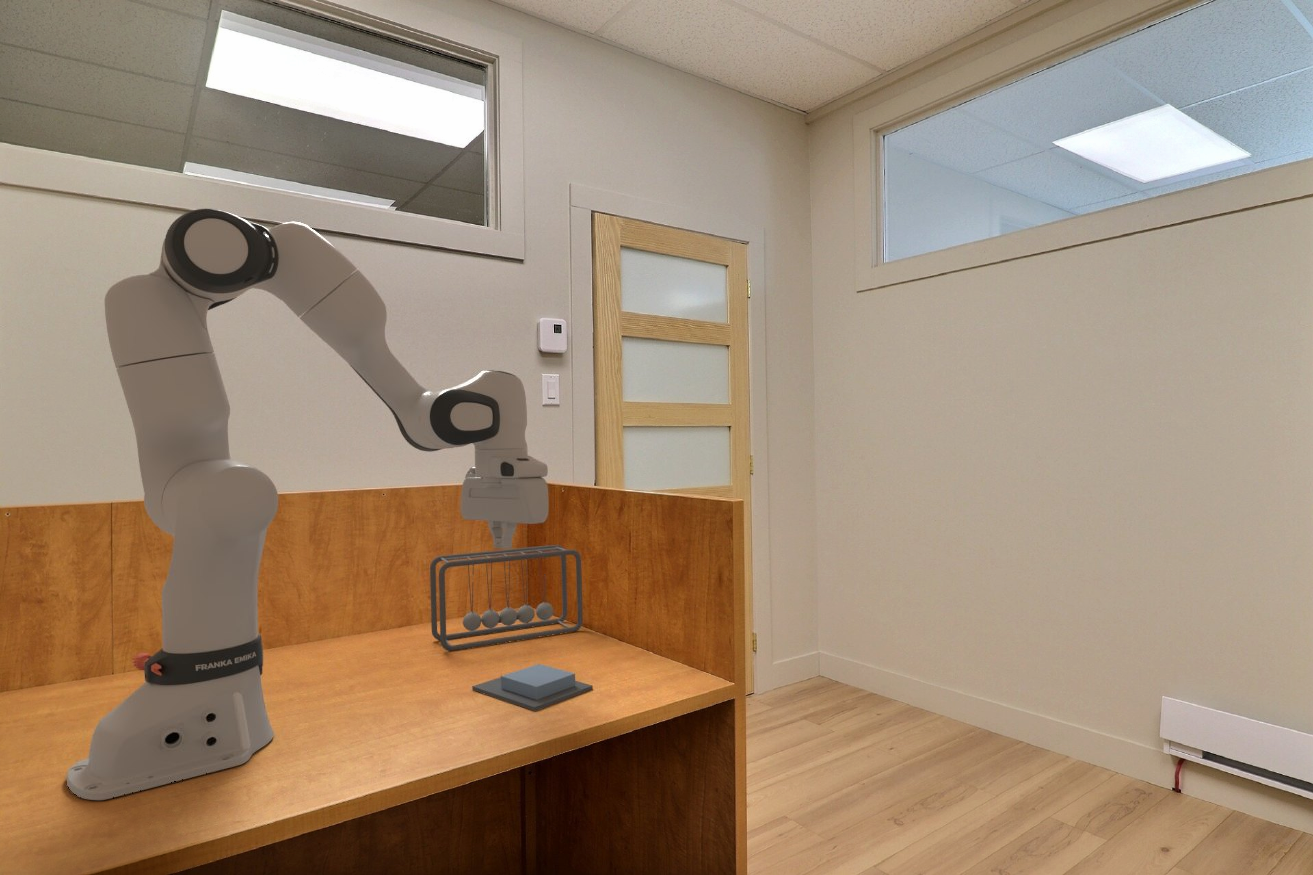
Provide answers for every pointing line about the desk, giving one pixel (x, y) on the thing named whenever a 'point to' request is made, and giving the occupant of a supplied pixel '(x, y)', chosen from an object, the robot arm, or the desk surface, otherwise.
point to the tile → (538, 681)
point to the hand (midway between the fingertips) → (502, 548)
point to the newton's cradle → (507, 614)
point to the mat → (495, 691)
